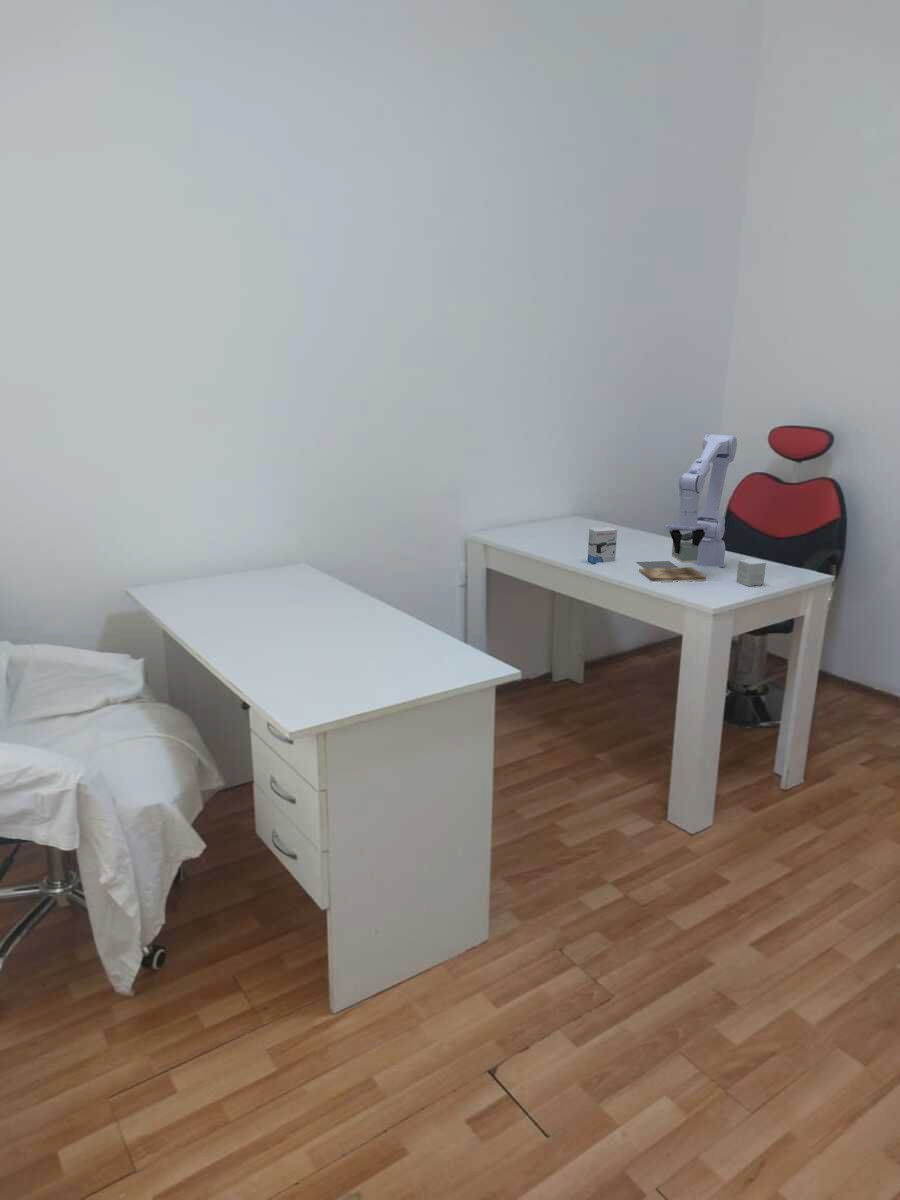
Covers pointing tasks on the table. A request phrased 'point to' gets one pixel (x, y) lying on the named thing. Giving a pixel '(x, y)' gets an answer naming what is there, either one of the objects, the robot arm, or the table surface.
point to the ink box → (602, 544)
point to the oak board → (672, 574)
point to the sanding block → (686, 552)
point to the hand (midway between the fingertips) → (685, 552)
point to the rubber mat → (657, 564)
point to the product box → (751, 572)
